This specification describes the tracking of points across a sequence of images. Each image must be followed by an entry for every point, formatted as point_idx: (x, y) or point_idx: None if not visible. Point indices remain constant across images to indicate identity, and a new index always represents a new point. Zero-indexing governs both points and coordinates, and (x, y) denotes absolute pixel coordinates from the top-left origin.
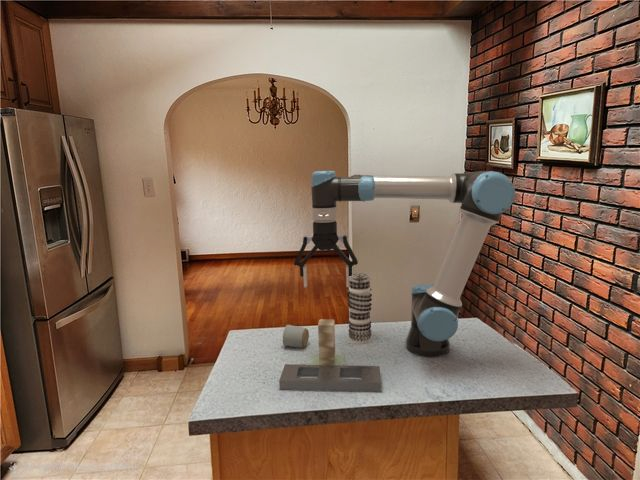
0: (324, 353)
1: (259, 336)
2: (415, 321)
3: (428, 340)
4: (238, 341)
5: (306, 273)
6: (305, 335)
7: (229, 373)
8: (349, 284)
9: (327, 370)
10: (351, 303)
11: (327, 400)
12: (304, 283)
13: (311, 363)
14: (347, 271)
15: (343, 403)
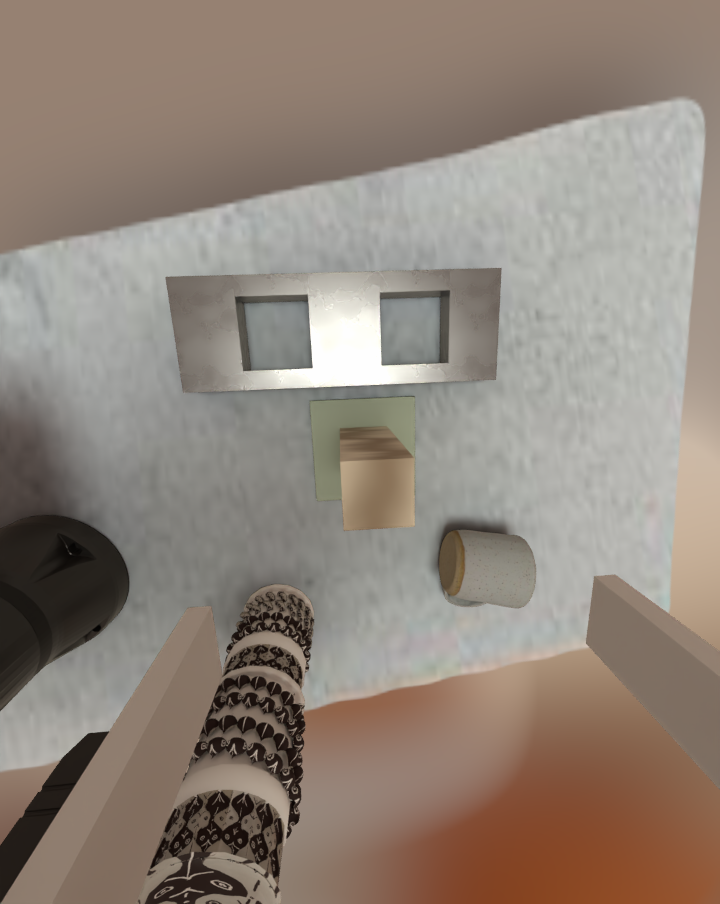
0: (373, 433)
1: (589, 598)
2: (4, 617)
3: (5, 549)
4: (648, 560)
5: (708, 739)
6: (453, 559)
7: (647, 362)
8: (280, 844)
9: (353, 347)
10: (281, 710)
11: (338, 224)
12: (640, 599)
13: (411, 435)
14: (85, 794)
15: (289, 210)
